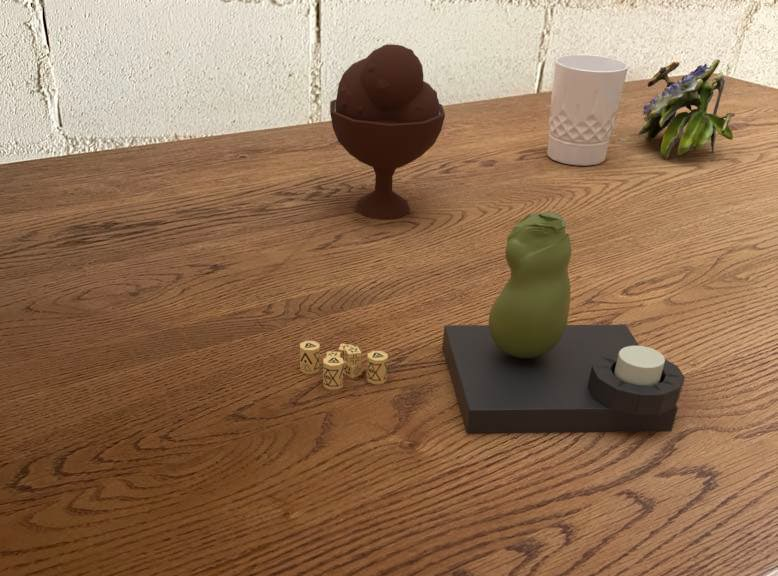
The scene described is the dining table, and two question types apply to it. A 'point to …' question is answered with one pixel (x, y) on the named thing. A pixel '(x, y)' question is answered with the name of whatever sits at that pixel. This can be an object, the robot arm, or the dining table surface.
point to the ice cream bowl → (386, 121)
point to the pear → (533, 288)
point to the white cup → (584, 107)
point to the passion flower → (685, 96)
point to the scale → (556, 384)
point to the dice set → (342, 364)
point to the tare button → (639, 365)
